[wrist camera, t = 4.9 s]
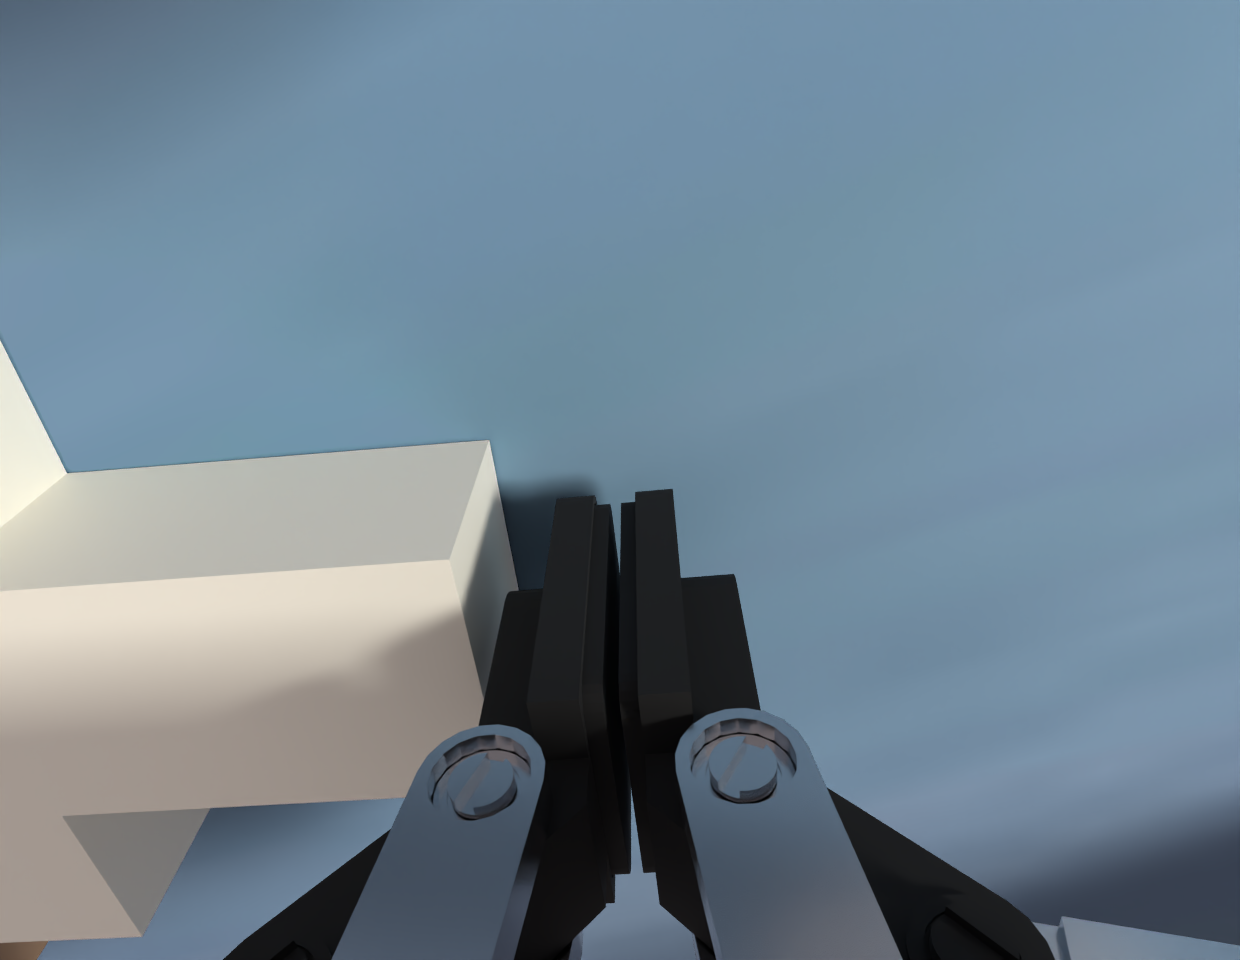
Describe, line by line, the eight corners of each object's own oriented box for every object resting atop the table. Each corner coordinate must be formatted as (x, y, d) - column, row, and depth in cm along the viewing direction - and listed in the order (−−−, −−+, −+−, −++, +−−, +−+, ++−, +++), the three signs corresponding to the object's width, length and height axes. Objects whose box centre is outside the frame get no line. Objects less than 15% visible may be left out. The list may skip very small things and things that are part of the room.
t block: (448, 233, 10) (388, 307, 8) (553, 766, 15) (537, 919, 13) (-276, 301, 11) (-558, 391, 8) (51, 793, 16) (-61, 945, 13)
